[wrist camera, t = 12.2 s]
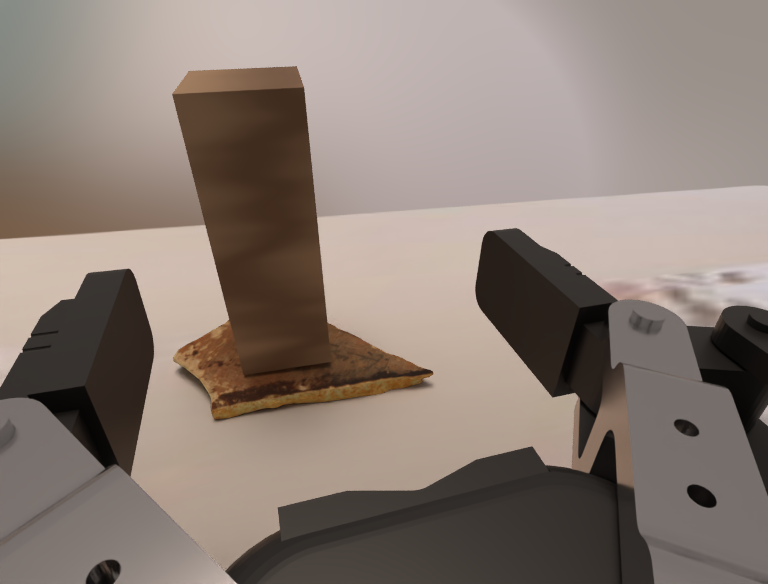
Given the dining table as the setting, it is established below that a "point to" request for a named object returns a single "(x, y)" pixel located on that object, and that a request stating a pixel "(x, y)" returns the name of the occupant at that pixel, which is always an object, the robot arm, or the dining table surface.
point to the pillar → (259, 209)
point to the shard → (293, 374)
